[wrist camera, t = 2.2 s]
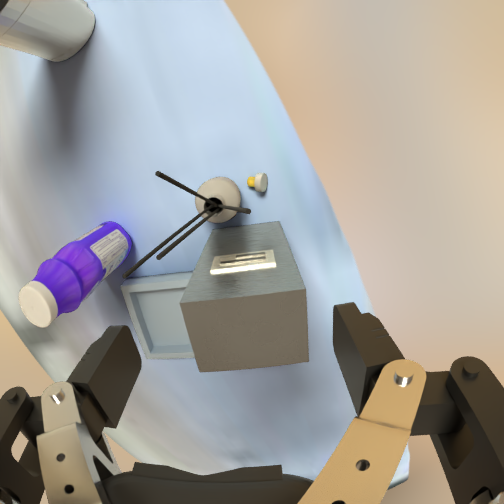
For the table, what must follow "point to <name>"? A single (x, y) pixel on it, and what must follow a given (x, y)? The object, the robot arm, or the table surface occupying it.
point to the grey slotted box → (246, 301)
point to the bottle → (74, 273)
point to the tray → (159, 314)
